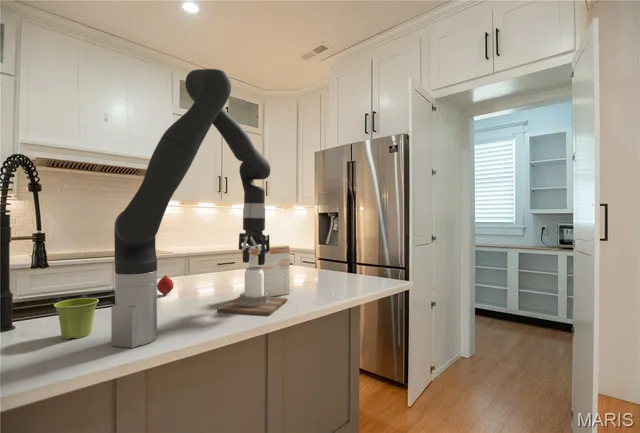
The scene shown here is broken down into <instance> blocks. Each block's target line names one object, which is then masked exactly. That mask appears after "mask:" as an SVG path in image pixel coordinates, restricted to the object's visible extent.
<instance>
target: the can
mask: <svg viewBox="0 0 640 433" xmlns="http://www.w3.org/2000/svg"><path fill="white" fill-rule="evenodd" d="M245 269H246V270H245V272H244V292H245V296H246V297H259V296H264V272H263V270H262V267H249V266H248V267H245Z"/></svg>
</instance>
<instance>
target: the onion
mask: <svg viewBox="0 0 640 433" xmlns="http://www.w3.org/2000/svg"><path fill="white" fill-rule="evenodd" d="M173 289H174V282H173V279H171V278H170V277H168V276H167V274H164V276H163V277H162V278H161V279H159V281H157V291H158V292H160V293H161V294H162V295H163V296H167V295H169V294H170V292H171V291H172V290H173Z"/></svg>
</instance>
